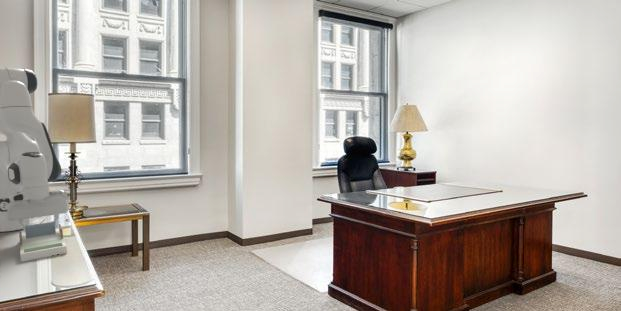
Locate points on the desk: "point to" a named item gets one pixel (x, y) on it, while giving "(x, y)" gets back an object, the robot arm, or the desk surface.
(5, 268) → the desk surface
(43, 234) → the slate bar
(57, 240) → the tunnel deck
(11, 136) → the robot arm
